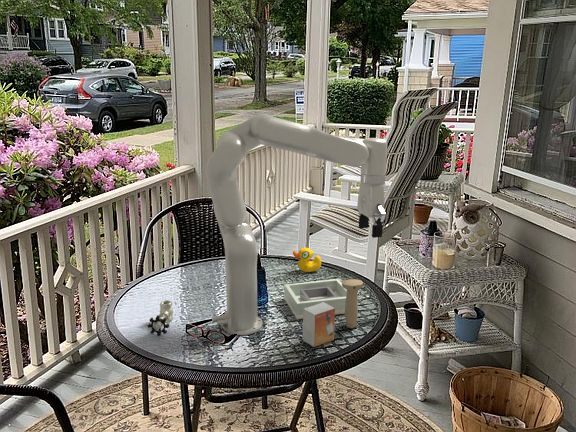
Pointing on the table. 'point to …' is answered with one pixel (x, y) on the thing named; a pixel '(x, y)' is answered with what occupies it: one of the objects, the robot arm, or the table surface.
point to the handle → (351, 301)
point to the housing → (315, 295)
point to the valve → (162, 318)
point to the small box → (318, 324)
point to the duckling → (307, 260)
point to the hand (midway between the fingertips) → (369, 232)
